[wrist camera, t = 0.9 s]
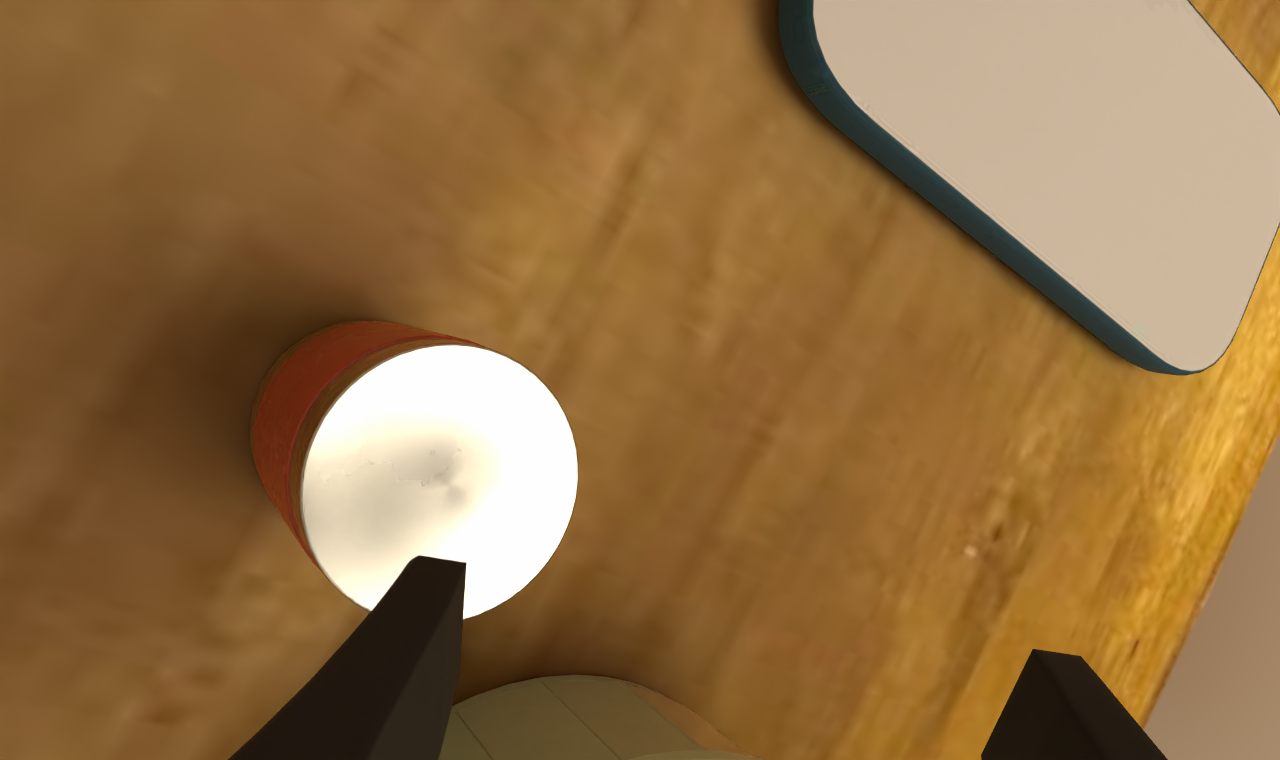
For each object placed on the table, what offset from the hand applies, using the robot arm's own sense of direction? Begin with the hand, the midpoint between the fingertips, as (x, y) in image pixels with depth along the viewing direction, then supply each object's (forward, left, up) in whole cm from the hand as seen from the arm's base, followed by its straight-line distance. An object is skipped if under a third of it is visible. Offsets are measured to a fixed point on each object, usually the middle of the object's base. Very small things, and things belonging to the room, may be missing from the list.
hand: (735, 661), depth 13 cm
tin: (-1, +1, -15) cm, 15 cm away
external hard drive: (+24, -4, -15) cm, 29 cm away
